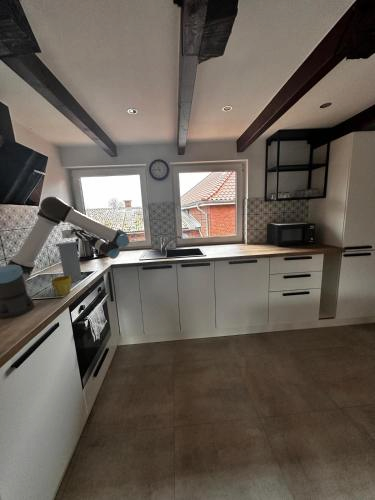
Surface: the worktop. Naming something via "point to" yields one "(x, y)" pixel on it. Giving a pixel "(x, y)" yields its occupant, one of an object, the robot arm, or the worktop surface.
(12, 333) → the worktop surface
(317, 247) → the worktop surface
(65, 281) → the plant pot
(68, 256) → the stand
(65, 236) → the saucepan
